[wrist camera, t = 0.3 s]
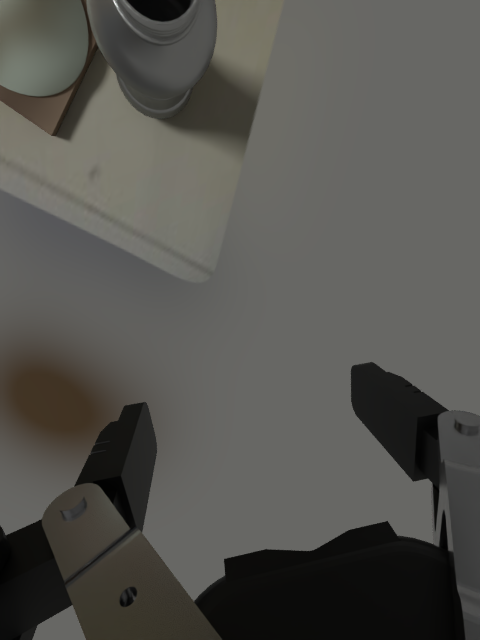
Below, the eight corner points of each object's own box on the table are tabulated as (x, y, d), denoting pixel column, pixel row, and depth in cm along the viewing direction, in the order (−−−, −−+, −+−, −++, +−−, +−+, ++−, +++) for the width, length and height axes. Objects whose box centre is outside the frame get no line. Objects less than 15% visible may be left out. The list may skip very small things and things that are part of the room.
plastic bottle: (200, 55, 28) (273, -105, 11) (178, 134, 30) (208, 108, 13) (127, 11, 25) (70, -289, 8) (110, 101, 28) (37, 16, 11)
